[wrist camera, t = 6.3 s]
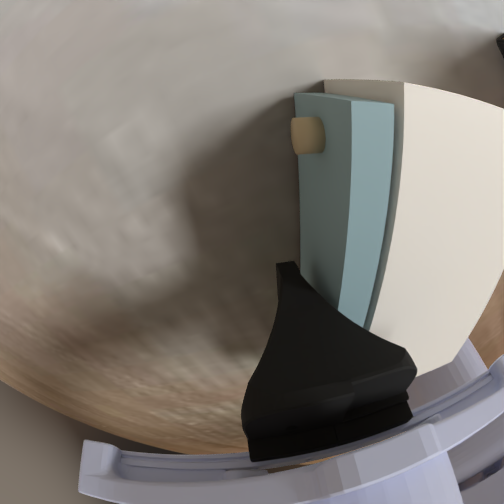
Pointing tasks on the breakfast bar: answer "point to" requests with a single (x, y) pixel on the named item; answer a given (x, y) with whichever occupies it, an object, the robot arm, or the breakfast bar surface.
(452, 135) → the cabinet
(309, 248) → the door
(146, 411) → the breakfast bar surface
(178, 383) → the breakfast bar surface
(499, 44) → the ammunition clip
